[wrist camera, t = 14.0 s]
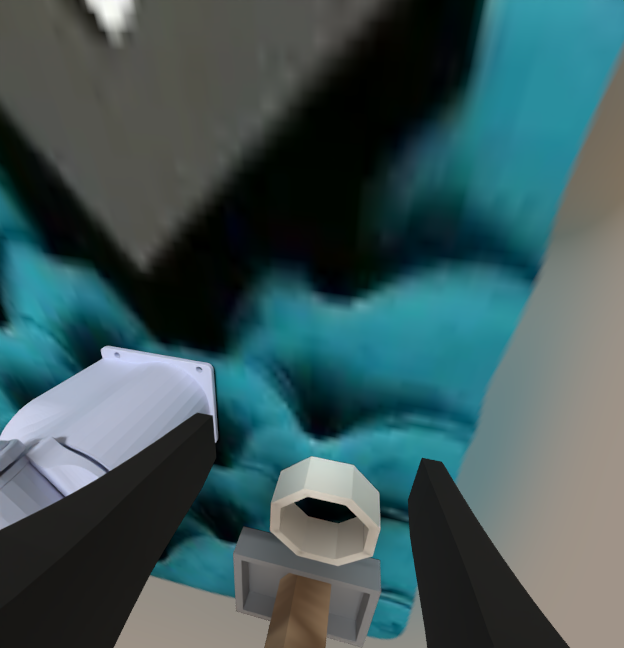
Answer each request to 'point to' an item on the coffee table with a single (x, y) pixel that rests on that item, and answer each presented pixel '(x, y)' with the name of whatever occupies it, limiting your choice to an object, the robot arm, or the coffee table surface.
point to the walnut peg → (299, 613)
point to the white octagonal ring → (321, 535)
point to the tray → (278, 560)
